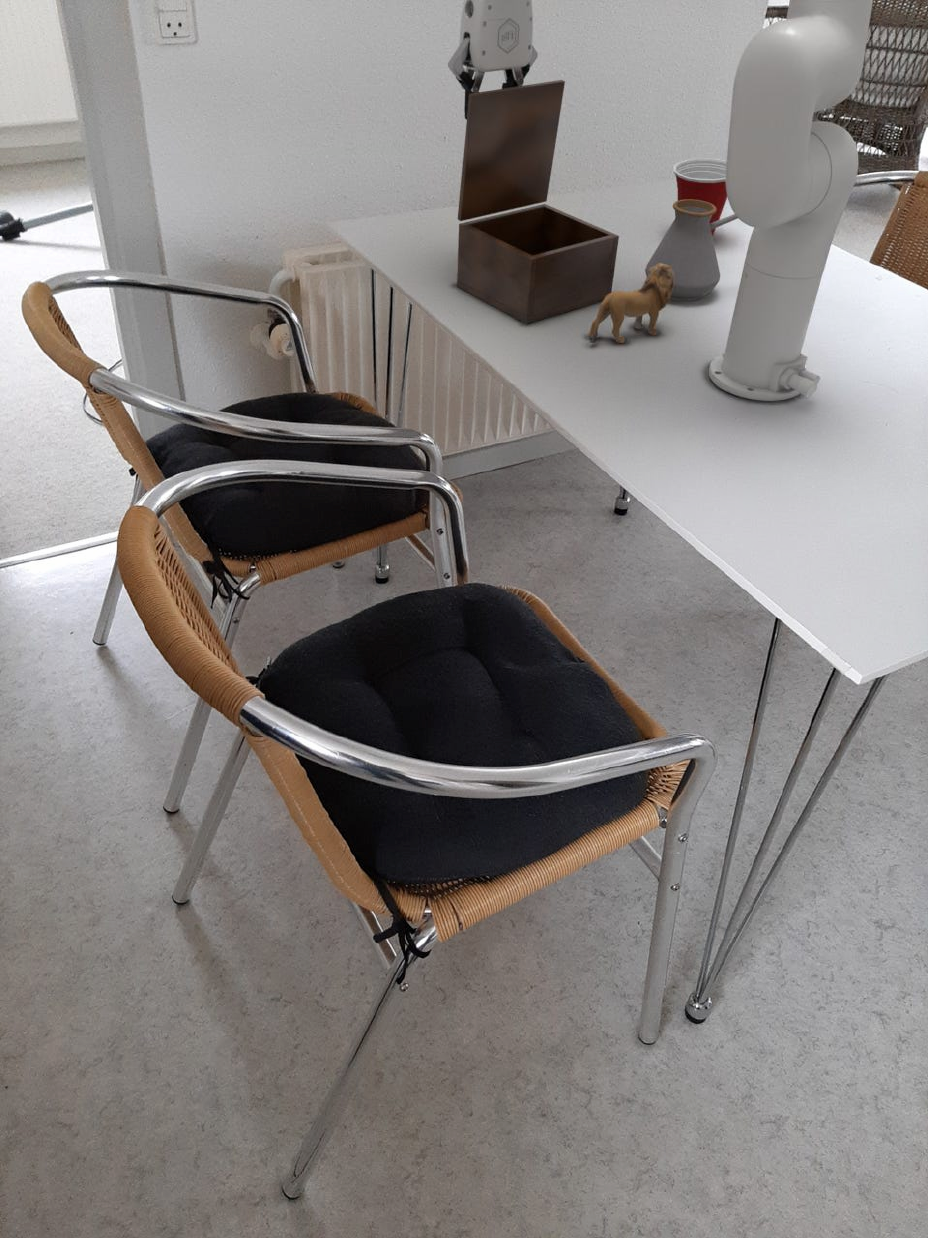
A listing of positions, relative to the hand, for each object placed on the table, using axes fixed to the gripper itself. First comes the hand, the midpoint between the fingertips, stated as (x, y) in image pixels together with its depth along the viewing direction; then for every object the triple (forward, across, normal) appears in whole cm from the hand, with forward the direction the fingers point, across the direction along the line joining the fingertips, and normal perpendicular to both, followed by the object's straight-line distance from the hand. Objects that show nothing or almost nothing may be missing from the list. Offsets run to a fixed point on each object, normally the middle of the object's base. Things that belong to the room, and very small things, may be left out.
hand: (491, 116), depth 147 cm
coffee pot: (+22, +24, -27) cm, 42 cm away
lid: (+4, 0, -5) cm, 6 cm away
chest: (+22, 0, -12) cm, 25 cm away
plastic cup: (+22, +39, -10) cm, 46 cm away
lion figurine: (+22, +2, -31) cm, 38 cm away
